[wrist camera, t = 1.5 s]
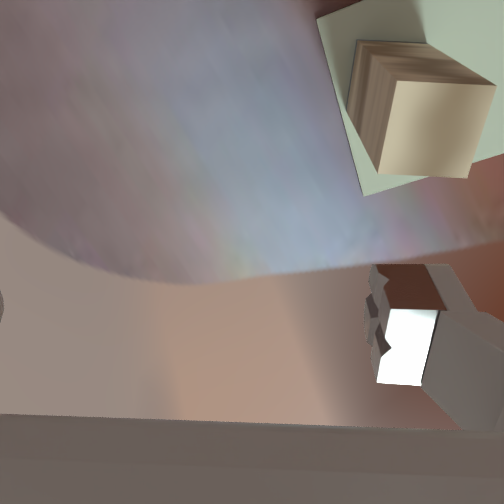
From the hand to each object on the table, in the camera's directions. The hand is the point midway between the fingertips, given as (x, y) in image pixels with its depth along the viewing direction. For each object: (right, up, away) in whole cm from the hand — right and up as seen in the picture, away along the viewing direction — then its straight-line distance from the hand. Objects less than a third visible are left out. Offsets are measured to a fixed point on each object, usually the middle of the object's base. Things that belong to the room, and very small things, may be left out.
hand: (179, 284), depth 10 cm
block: (+12, +15, +28) cm, 34 cm away
